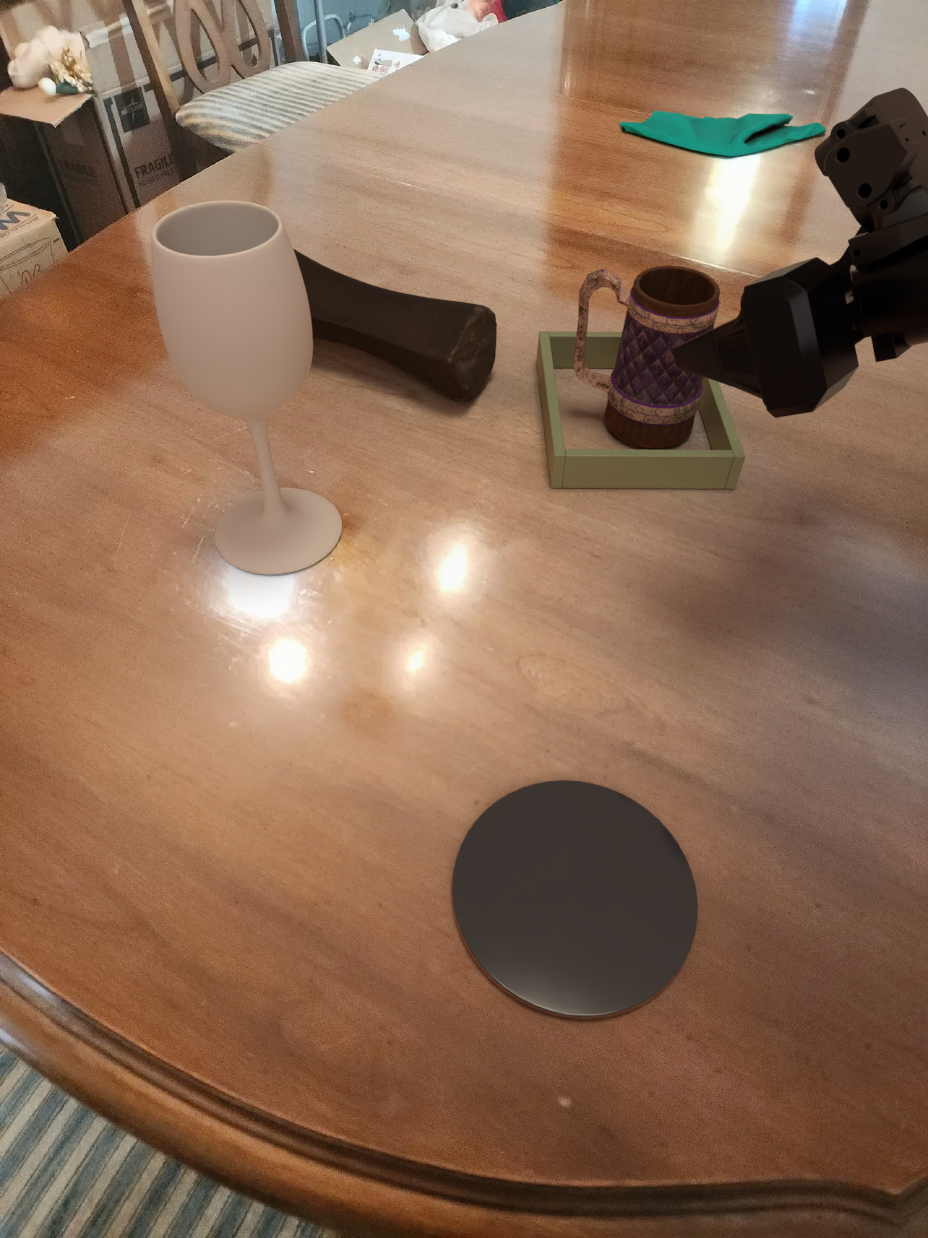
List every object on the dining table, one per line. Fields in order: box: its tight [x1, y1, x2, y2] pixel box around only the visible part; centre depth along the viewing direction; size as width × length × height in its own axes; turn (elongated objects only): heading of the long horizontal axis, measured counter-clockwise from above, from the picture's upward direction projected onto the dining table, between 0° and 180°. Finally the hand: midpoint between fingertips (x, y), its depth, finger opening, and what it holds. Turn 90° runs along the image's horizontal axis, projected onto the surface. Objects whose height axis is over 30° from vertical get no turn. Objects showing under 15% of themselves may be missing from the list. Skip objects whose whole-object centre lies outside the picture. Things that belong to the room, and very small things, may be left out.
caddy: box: [535, 330, 746, 490], centre depth 67 cm, size 14×17×3 cm
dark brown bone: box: [293, 247, 498, 402], centre depth 71 cm, size 11×10×28 cm
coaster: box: [451, 779, 699, 1021], centre depth 42 cm, size 12×12×1 cm
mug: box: [573, 265, 721, 450], centre depth 64 cm, size 10×7×12 cm
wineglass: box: [150, 199, 343, 575], centre depth 51 cm, size 9×9×21 cm
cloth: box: [619, 110, 827, 157], centre depth 107 cm, size 26×14×2 cm, turn 77°
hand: (717, 333), depth 50 cm, fingers open, 9 cm apart
